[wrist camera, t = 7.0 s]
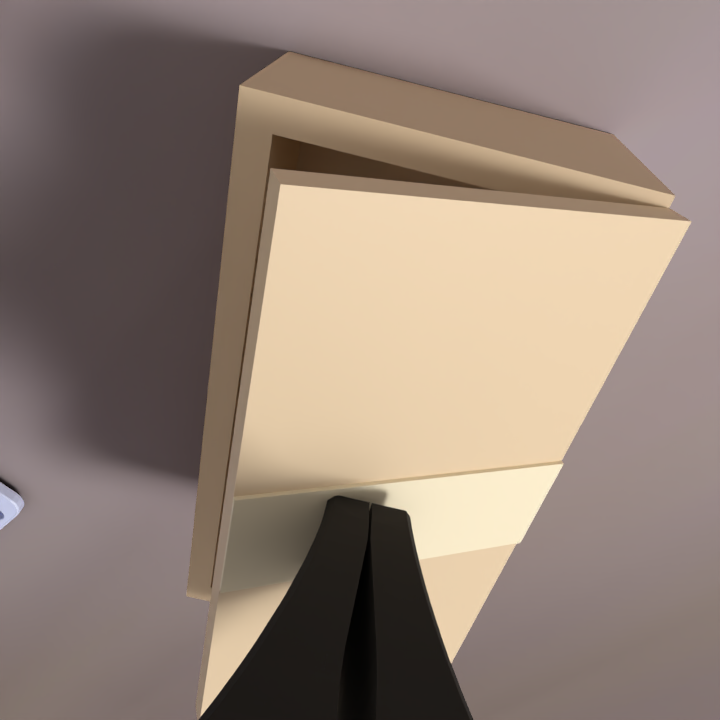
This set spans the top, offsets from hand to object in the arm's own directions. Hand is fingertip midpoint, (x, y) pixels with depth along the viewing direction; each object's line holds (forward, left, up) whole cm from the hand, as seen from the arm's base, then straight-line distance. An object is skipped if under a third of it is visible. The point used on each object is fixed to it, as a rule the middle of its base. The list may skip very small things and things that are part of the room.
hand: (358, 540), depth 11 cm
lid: (0, 0, -1) cm, 1 cm away
